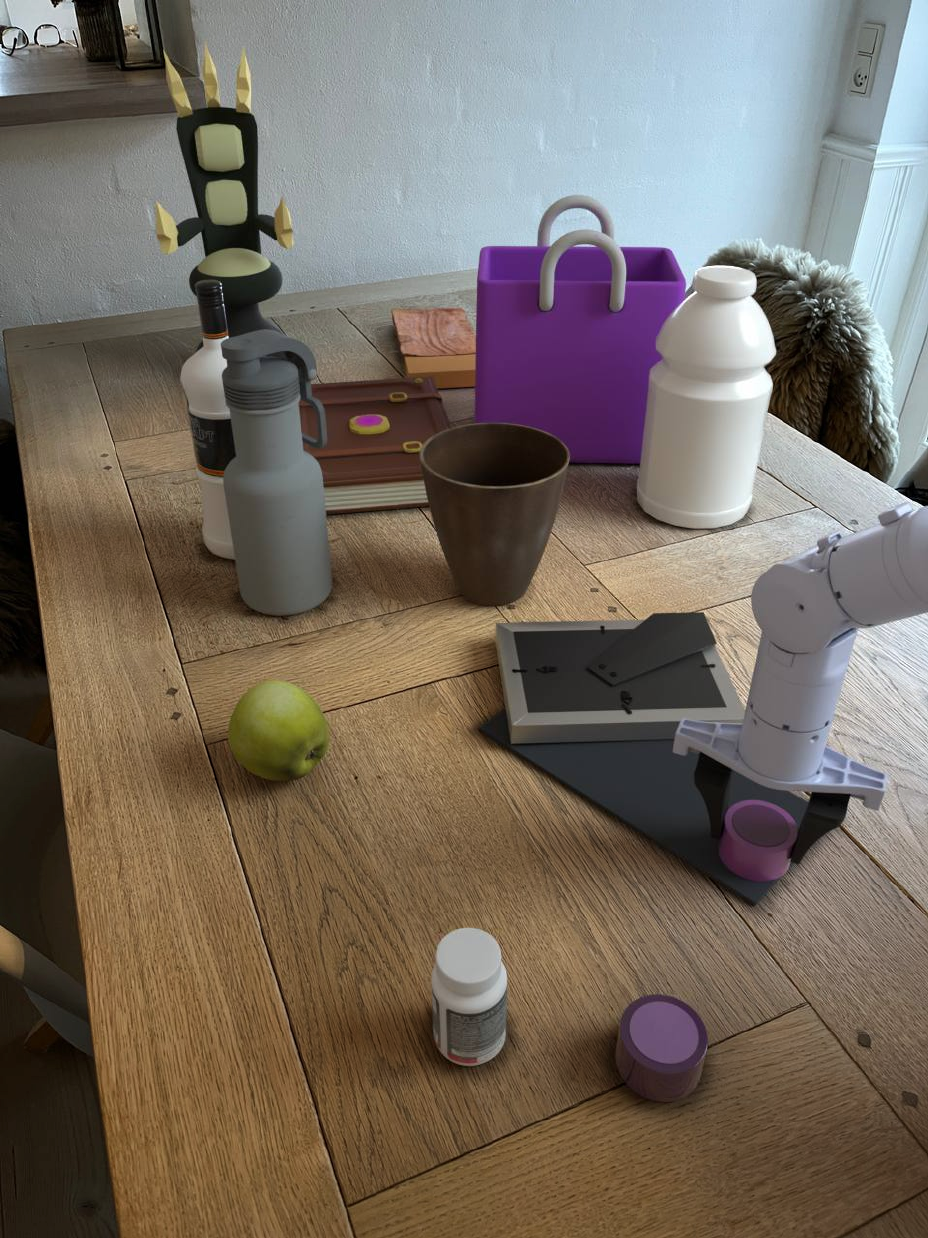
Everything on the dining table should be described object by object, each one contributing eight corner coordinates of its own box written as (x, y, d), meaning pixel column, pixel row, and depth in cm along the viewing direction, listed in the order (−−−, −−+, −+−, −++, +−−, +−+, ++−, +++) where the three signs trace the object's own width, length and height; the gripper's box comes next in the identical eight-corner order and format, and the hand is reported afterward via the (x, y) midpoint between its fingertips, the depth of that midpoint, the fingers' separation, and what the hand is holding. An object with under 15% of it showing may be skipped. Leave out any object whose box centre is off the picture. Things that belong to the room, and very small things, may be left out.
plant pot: (406, 564, 112) (400, 433, 103) (528, 541, 117) (533, 412, 107) (450, 639, 101) (448, 498, 92) (584, 610, 105) (595, 472, 96)
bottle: (671, 540, 117) (704, 299, 101) (614, 488, 127) (636, 262, 111) (773, 518, 121) (820, 283, 105) (709, 469, 131) (743, 250, 115)
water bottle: (299, 558, 114) (271, 312, 98) (354, 591, 108) (334, 337, 92) (223, 593, 108) (180, 338, 92) (276, 630, 102) (241, 365, 86)
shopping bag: (482, 481, 129) (483, 239, 112) (456, 413, 147) (454, 195, 129) (691, 465, 133) (724, 228, 115) (641, 400, 150) (664, 186, 133)
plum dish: (803, 854, 77) (811, 824, 75) (766, 894, 74) (774, 864, 72) (741, 817, 80) (748, 788, 79) (704, 855, 77) (710, 825, 75)
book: (434, 403, 149) (433, 371, 146) (470, 504, 124) (470, 467, 121) (280, 413, 146) (276, 381, 143) (284, 519, 121) (280, 482, 118)
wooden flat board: (406, 391, 153) (405, 371, 151) (391, 326, 177) (390, 307, 175) (490, 387, 154) (491, 366, 153) (464, 322, 179) (464, 304, 177)
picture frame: (699, 635, 101) (494, 639, 100) (703, 612, 100) (495, 616, 99) (745, 737, 88) (510, 744, 87) (750, 712, 87) (512, 718, 85)
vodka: (281, 562, 113) (247, 295, 96) (198, 564, 113) (149, 296, 95) (289, 521, 120) (260, 267, 103) (212, 523, 120) (169, 268, 103)
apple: (280, 720, 91) (270, 649, 86) (352, 764, 86) (345, 692, 81) (212, 766, 86) (197, 694, 81) (284, 816, 81) (273, 742, 77)
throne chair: (183, 396, 152) (124, 57, 126) (186, 346, 169) (135, 39, 144) (308, 386, 155) (276, 53, 129) (298, 338, 173) (268, 36, 147)
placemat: (833, 819, 81) (834, 816, 81) (755, 906, 74) (756, 903, 73) (564, 670, 97) (564, 667, 96) (478, 730, 90) (478, 727, 89)
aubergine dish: (717, 1060, 64) (725, 1030, 62) (669, 1120, 61) (675, 1091, 59) (648, 1008, 67) (653, 978, 65) (598, 1062, 64) (602, 1032, 62)
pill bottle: (520, 1032, 65) (524, 952, 61) (471, 1083, 63) (471, 1003, 58) (467, 989, 68) (467, 909, 63) (418, 1036, 65) (414, 955, 60)
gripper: (907, 698, 69) (862, 835, 77) (699, 647, 74) (676, 780, 82) (899, 763, 64) (851, 902, 72) (675, 703, 69) (653, 840, 77)
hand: (757, 842), depth 76 cm, fingers closed on plum dish, 5 cm apart
